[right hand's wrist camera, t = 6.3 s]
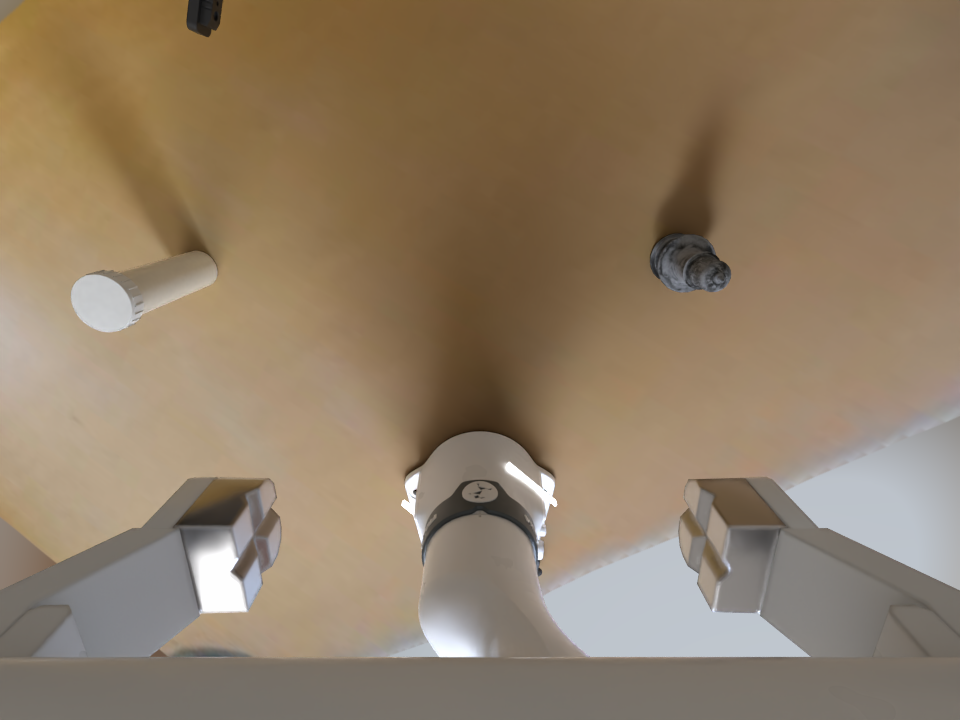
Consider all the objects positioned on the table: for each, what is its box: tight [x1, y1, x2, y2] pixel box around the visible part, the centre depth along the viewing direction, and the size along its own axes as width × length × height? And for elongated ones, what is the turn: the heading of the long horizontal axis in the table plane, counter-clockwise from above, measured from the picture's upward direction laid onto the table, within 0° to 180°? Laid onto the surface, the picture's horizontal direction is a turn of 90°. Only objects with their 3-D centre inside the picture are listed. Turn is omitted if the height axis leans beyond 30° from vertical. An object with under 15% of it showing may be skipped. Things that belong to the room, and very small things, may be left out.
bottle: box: [118, 251, 218, 315], centre depth 50 cm, size 4×4×15 cm
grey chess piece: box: [650, 233, 731, 292], centre depth 51 cm, size 6×6×12 cm
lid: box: [71, 270, 144, 332], centre depth 43 cm, size 5×5×2 cm
